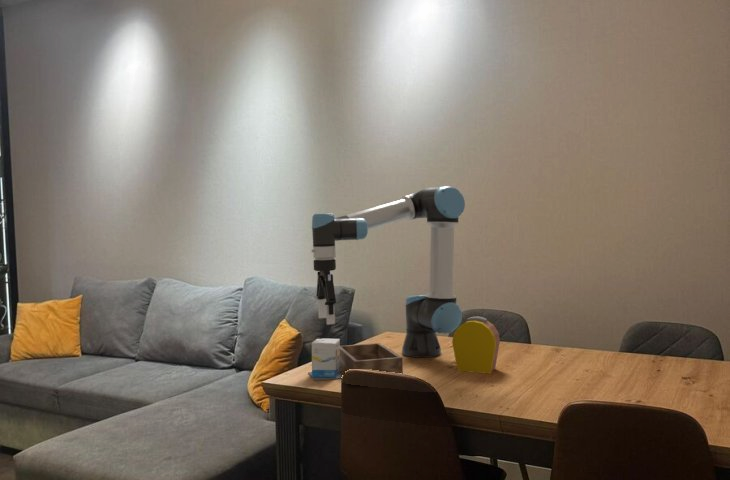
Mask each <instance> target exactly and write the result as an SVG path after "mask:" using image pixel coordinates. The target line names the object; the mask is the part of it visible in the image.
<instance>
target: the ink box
mask: <svg viewBox="0 0 730 480" xmlns="http://www.w3.org/2000/svg"><path fill="white" fill-rule="evenodd" d="M340 340H341V339H340V338H316V339H315V340H313V341H312V342H311V372H312V377H337V375H338V374H339V373H340V371H341V368H340V346H341V343H340V342H341V341H340Z"/></svg>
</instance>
